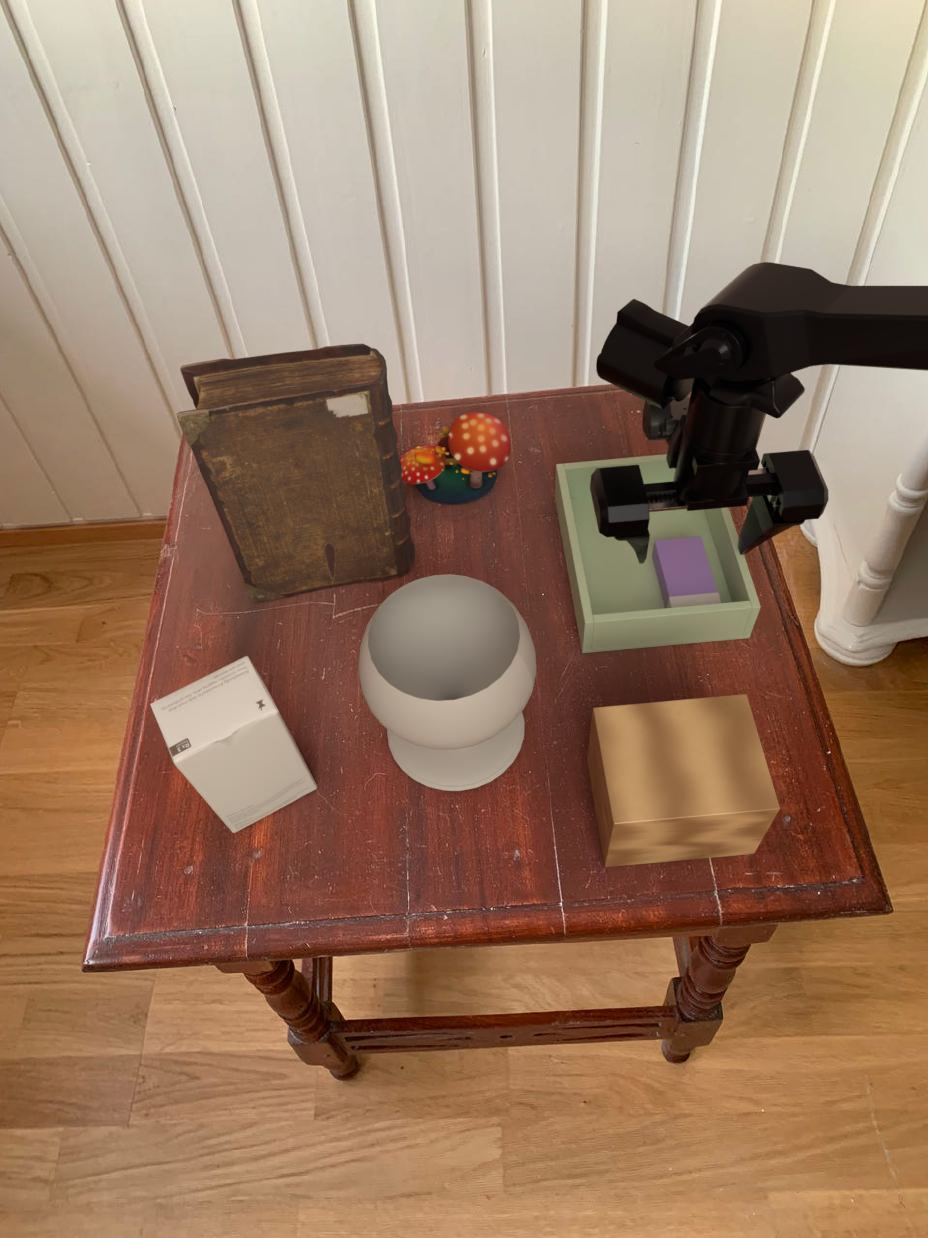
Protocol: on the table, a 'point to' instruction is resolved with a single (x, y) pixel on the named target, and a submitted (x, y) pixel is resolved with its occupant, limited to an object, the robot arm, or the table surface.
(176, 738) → the cosmetic box
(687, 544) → the chocolate bar
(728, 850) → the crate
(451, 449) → the figurine
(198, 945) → the table surface
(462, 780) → the chalice
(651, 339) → the robot arm
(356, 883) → the table surface
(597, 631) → the tray
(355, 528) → the book
